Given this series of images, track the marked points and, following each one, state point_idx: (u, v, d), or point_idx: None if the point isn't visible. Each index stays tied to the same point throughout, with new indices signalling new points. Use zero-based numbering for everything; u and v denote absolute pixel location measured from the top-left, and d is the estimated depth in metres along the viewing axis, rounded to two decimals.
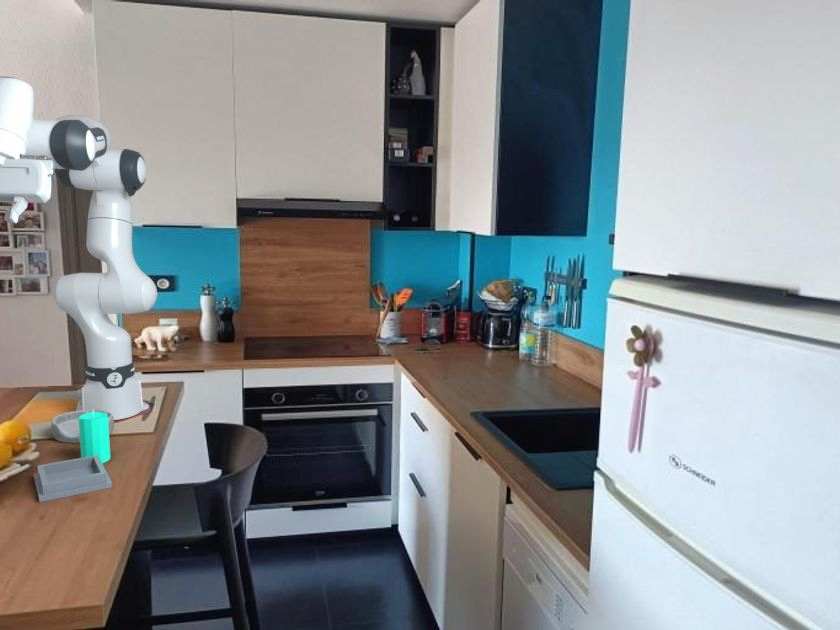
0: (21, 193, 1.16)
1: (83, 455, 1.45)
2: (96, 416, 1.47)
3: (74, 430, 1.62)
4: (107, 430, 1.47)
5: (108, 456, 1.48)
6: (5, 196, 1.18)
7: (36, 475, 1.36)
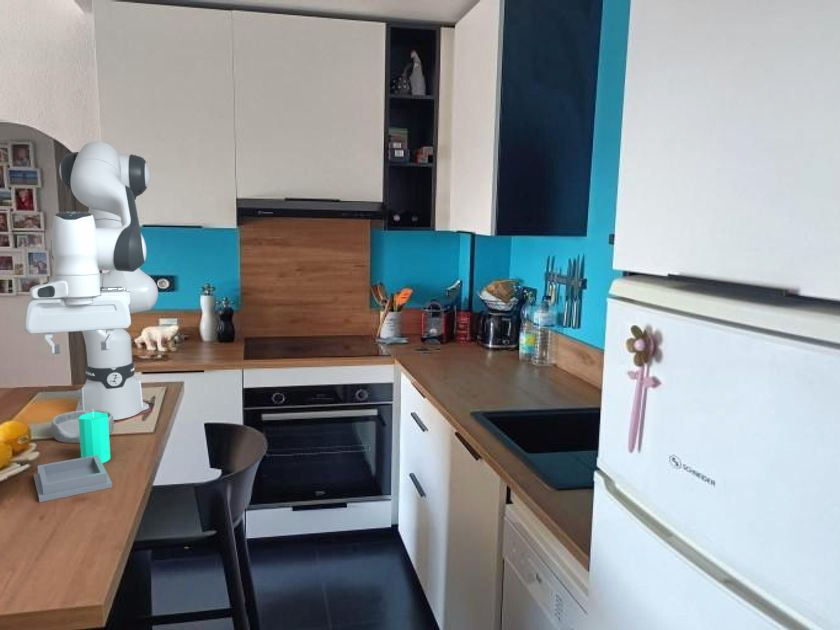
0: (114, 328, 1.41)
1: (83, 455, 1.45)
2: (96, 416, 1.47)
3: (74, 430, 1.62)
4: (107, 430, 1.47)
5: (108, 456, 1.48)
6: None
7: (36, 475, 1.36)
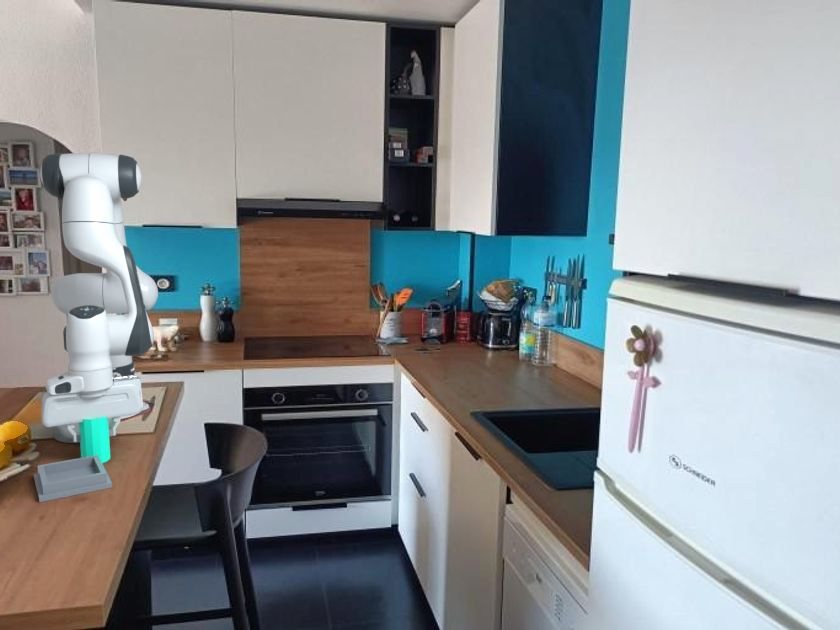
0: (126, 415, 1.49)
1: (83, 455, 1.45)
2: None
3: (74, 430, 1.62)
4: (107, 430, 1.47)
5: (108, 456, 1.48)
6: None
7: (36, 475, 1.36)
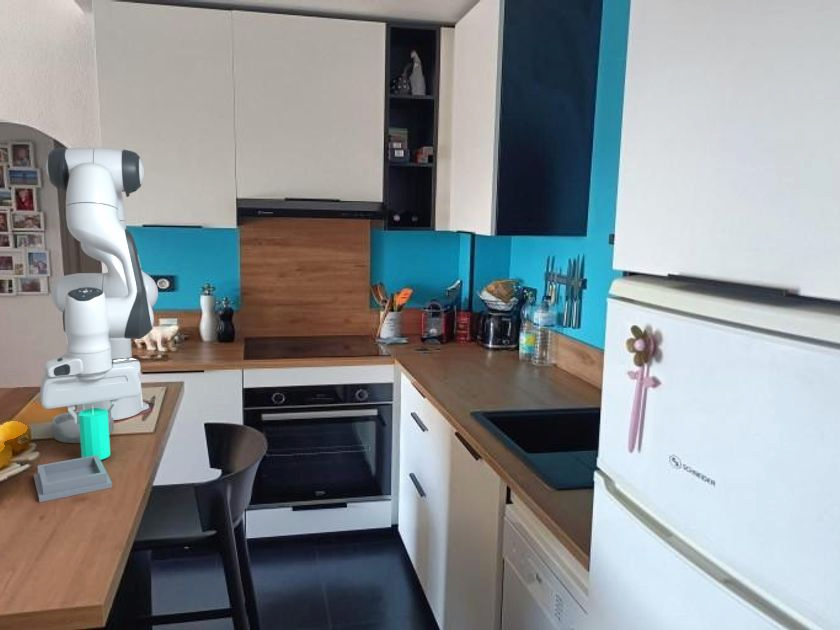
0: (125, 397, 1.48)
1: (83, 451, 1.45)
2: (96, 413, 1.47)
3: (74, 430, 1.62)
4: (107, 427, 1.47)
5: (108, 452, 1.48)
6: None
7: (36, 475, 1.36)
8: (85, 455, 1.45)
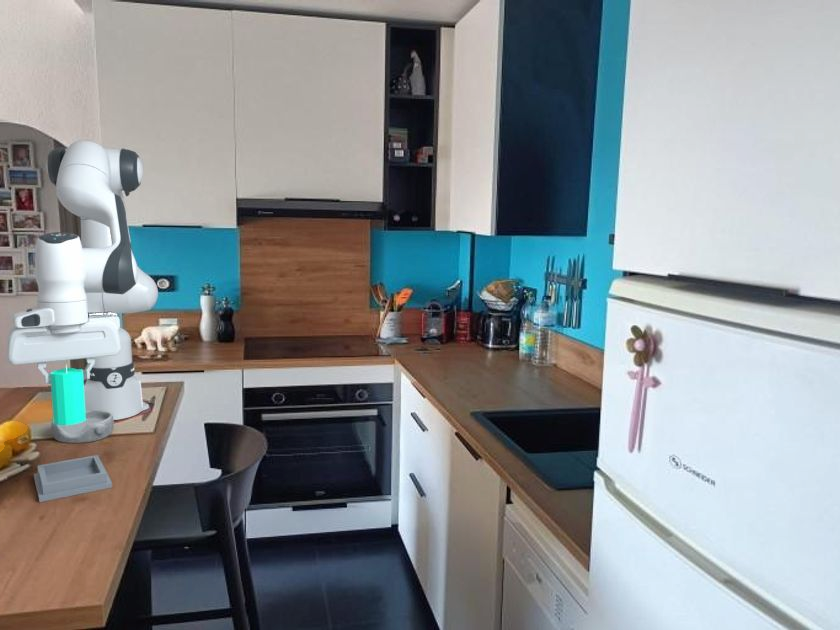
0: (103, 355, 1.34)
1: (54, 414, 1.31)
2: (70, 372, 1.33)
3: (74, 430, 1.62)
4: (82, 388, 1.32)
5: (83, 417, 1.33)
6: None
7: (36, 475, 1.36)
8: (57, 419, 1.30)
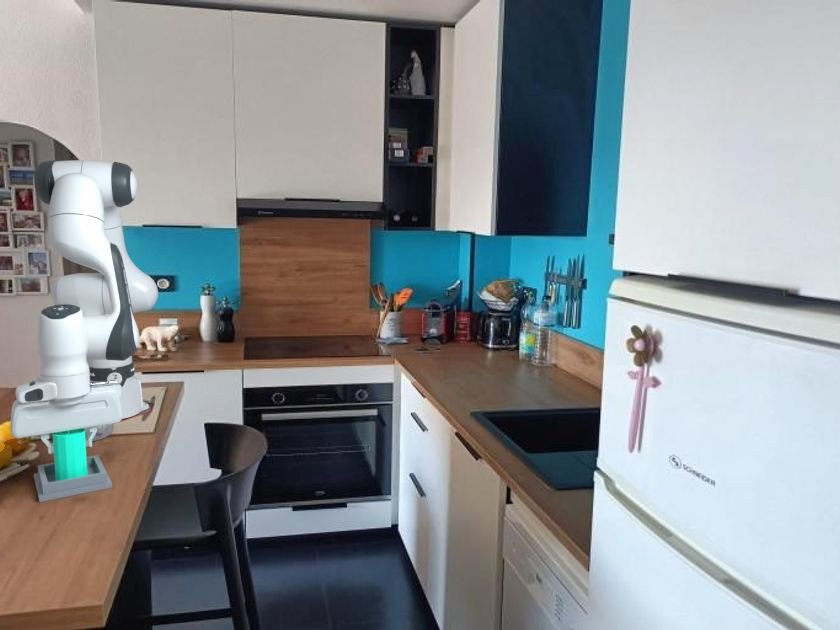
0: (105, 424, 1.36)
1: (57, 475, 1.32)
2: (72, 432, 1.34)
3: None
4: (83, 447, 1.34)
5: None
6: None
7: (36, 475, 1.36)
8: (59, 479, 1.32)
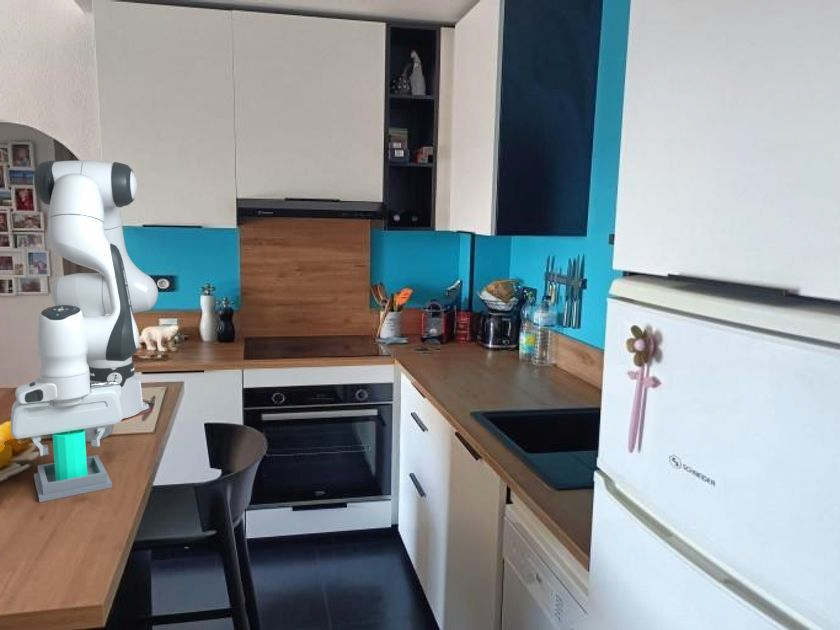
0: (105, 425, 1.36)
1: (57, 475, 1.32)
2: (72, 432, 1.34)
3: None
4: (83, 447, 1.34)
5: None
6: None
7: (36, 475, 1.36)
8: (59, 479, 1.32)
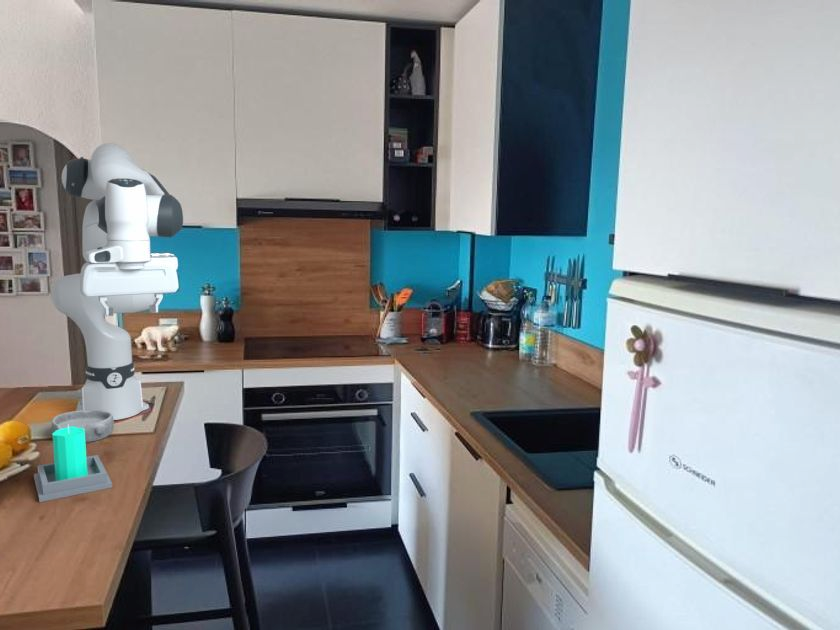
0: (163, 292, 1.48)
1: (57, 475, 1.32)
2: (72, 432, 1.34)
3: None
4: (83, 447, 1.34)
5: None
6: None
7: (36, 475, 1.36)
8: (59, 479, 1.32)
